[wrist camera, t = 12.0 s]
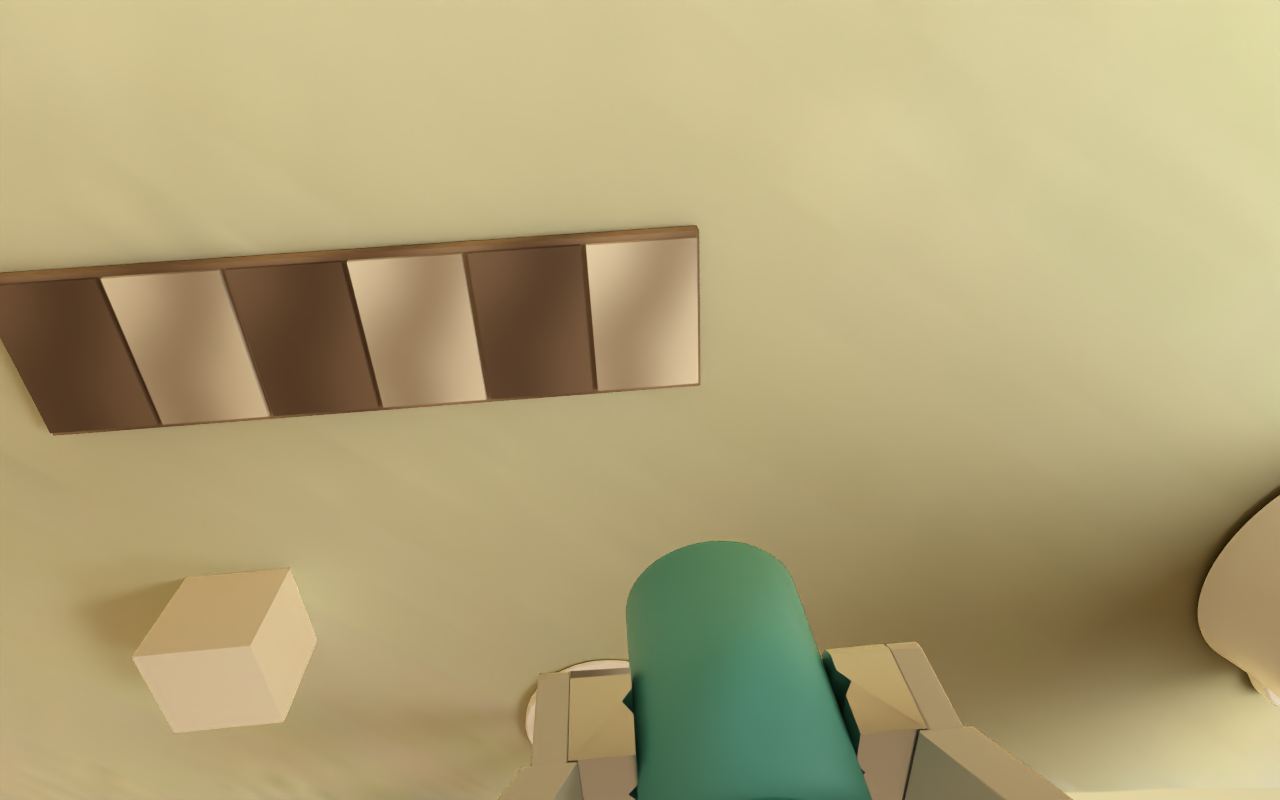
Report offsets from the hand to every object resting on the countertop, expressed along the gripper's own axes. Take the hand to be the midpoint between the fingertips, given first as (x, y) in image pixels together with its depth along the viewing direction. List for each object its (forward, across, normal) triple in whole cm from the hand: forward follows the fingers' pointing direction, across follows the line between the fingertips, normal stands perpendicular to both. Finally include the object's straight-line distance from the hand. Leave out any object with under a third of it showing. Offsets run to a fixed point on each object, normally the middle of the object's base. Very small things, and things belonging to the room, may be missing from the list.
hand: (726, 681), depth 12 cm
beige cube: (+16, +18, +13) cm, 28 cm away
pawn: (+2, 0, 0) cm, 2 cm away
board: (+16, +10, 0) cm, 19 cm away
